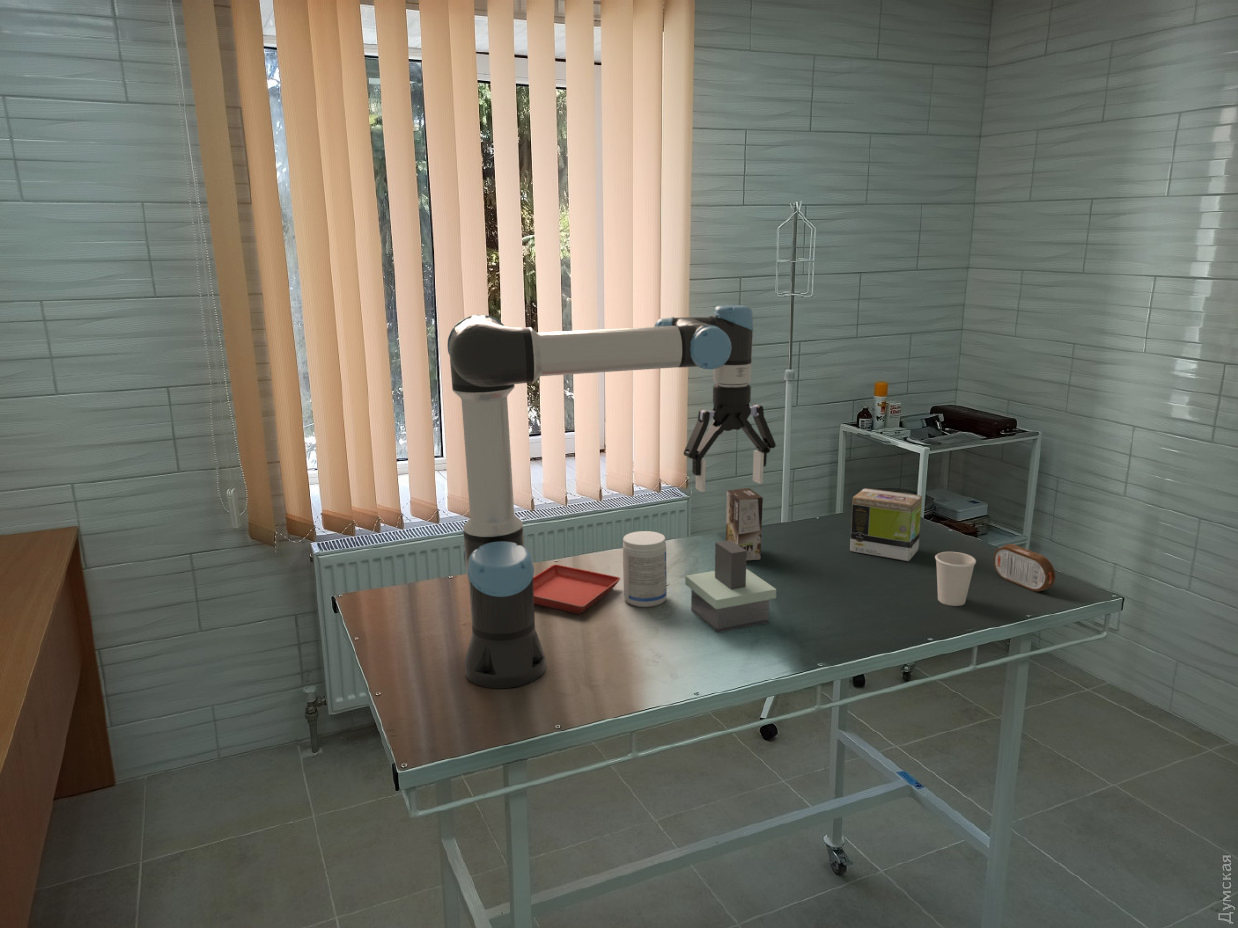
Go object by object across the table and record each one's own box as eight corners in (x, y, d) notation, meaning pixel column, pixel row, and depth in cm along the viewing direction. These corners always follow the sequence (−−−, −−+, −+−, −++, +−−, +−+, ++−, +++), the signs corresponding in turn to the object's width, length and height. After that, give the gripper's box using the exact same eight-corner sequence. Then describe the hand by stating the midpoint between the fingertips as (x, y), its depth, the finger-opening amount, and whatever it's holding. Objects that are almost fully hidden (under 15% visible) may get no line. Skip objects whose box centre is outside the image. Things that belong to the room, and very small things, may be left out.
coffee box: (761, 559, 222) (763, 497, 217) (737, 561, 220) (739, 499, 216) (748, 547, 230) (750, 487, 226) (724, 549, 229) (726, 489, 224)
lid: (715, 609, 179) (717, 562, 177) (685, 584, 192) (685, 540, 189) (776, 598, 185) (777, 552, 182) (742, 574, 197) (743, 531, 194)
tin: (1054, 594, 199) (1058, 559, 197) (1044, 597, 198) (1048, 562, 196) (998, 572, 212) (1002, 539, 210) (989, 574, 211) (992, 541, 209)
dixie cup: (928, 604, 195) (932, 561, 192) (934, 590, 202) (938, 549, 200) (969, 611, 191) (973, 567, 189) (974, 597, 198) (978, 554, 196)
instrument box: (717, 632, 182) (718, 601, 180) (691, 610, 193) (691, 579, 191) (768, 622, 187) (769, 591, 185) (739, 601, 197) (740, 571, 195)
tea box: (919, 550, 227) (923, 494, 223) (908, 562, 219) (913, 505, 215) (860, 540, 235) (864, 486, 231) (848, 551, 226) (851, 496, 223)
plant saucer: (621, 589, 205) (621, 576, 204) (583, 620, 190) (583, 605, 189) (554, 576, 213) (554, 563, 212) (512, 604, 198) (511, 590, 197)
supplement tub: (675, 602, 197) (675, 539, 193) (639, 612, 192) (639, 548, 188) (649, 587, 205) (649, 527, 201) (615, 597, 200) (614, 535, 196)
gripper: (685, 392, 170) (684, 498, 175) (795, 382, 179) (790, 483, 185) (667, 385, 176) (666, 488, 182) (774, 376, 186) (770, 474, 191)
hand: (729, 486), depth 183 cm, fingers open, 13 cm apart
